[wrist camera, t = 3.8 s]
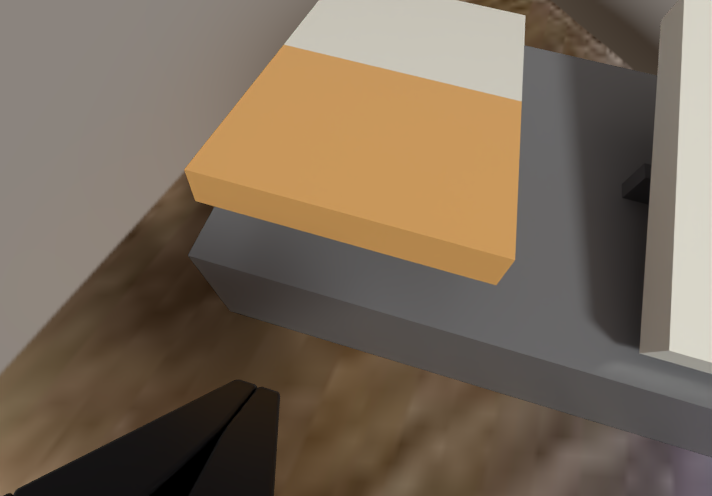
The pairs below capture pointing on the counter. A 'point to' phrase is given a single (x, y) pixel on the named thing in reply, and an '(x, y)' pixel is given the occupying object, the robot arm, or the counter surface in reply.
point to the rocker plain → (681, 195)
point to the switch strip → (521, 281)
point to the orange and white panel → (383, 134)
